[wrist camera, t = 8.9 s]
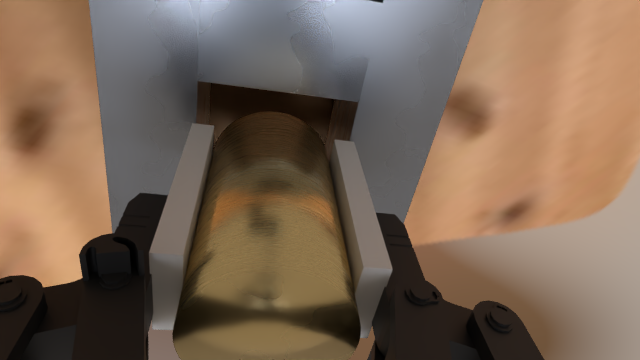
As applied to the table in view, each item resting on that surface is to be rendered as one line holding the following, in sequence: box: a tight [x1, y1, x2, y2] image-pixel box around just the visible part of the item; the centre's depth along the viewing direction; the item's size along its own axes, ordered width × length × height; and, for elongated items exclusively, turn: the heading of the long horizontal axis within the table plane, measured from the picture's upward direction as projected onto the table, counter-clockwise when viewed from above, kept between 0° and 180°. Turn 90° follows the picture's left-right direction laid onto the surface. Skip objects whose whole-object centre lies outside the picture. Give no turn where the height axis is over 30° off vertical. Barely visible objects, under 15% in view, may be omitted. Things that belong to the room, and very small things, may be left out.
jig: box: [89, 0, 483, 233], centre depth 16 cm, size 18×12×4 cm, turn 170°
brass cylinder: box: [173, 111, 361, 360], centre depth 14 cm, size 4×4×8 cm
